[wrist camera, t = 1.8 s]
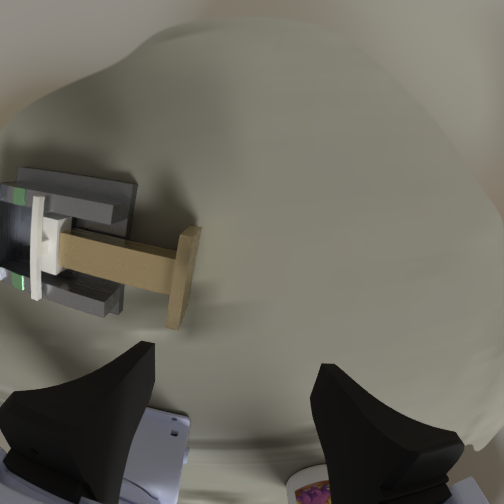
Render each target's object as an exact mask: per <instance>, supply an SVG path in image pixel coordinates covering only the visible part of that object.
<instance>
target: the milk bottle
mask: <svg viewBox="0 0 504 504" xmlns="http://www.w3.org/2000/svg"><path fill="white" fill-rule="evenodd" d="M286 490H287V497H288V504H331V495H330V486H329V478H328V472H327V465H326V464H322V465H316V466H312V467H308V468H305V469H303V470H301V471H298V472H297V473H295V474H294V475H292V476H291V477H290V478H289V480H288V482H287V484H286Z"/></svg>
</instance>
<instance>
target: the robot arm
mask: <svg viewBox="0 0 504 504" xmlns="http://www.w3.org/2000/svg"><path fill="white" fill-rule="evenodd" d="M154 382H155V343H150V342H145V341H140V342H139V343H137V344H136V345H134V346H133V347H132V348H130V349H129V350H128V351H126V352H125V353H123V354H122V355H120V356H119V357H117V358H116V359H114V360H113V361H111V362H110V363H108V364H106V365H105V366H103V367H101V368H100V369H98V370H96V371H94V372H92V373H90V374H88V375H85V376H83V377H81V378H78V379H76V380H73V381H70V382H67V383H63V384H60V385H57V386H52V387H48V388H42V389H36V390H26V391H14V392H13V393H12V394H11V395H10V396H9V397H8V399H7V400H6V401H5V402H4V403H3V405H2V406H1V407H0V429H1V431H2V433H3V435H4V437H5V438H6V440H7V442H8V444H9V446H10V447H11V449H10V451H9V452H8V454H7V453H6V452H5V451H4V450H3V449H2V448H1V447H0V504H177V501H178V495H179V488H180V482H181V475H182V469H183V463H185V464H187V460H188V453H189V448H187V447H186V444H187V438H188V431H189V425H190V419H189V418H188V417H186V416H182V415H178V414H173V413H169V412H165V411H161V410H157V409H153V408H149V407H147V405H148V402H149V400H150V397H151V393H152V390H153V386H154ZM310 403H311V410H312V416H313V420H314V423H315V426H316V430H317V433H318V436H319V439H320V443H321V446H322V449H323V452H324V456H325V460H326V465H327V472H328V478H329V486H330V495H331V504H489V502H488V501H487V499H486V498H485V496H484V494H483V493H482V491H481V490H480V488H479V487H478V485H477V483H476V482H475V480H474V479H473V477H469V478H466V479H464V480H462V481H460V482H457V483H455V484H453V485H452V486H450V487H449V488H448V487H447V485H446V483H447V482H448V481H449V478H448V476H447V475H446V474H447V472H448V471H449V470H450V469H451V468H452V467H453V465H454V464H455V463H456V462H457V461H458V459H459V458H460V456H461V455H462V453H463V451H464V446H465V445H464V443H463V442H462V441H461V439H460V438H459V436H458V435H457V433H456V432H453V431H449V430H444V429H440V428H436V427H433V426H430V425H427V424H424V423H421V422H418V421H416V420H413V419H411V418H409V417H407V416H405V415H403V414H401V413H399V412H397V411H395V410H393V409H392V408H390V407H388V406H387V405H385V404H384V403H382V402H381V401H379V400H378V399H376V398H375V397H374V396H372V395H371V394H370V393H368V392H367V391H366V390H365V389H363V388H362V387H361V386H360V385H359V384H357V383H356V382H355V381H354V380H353V379H352V378H351V377H349V376H348V375H347V374H346V373H345V372H344V371H343V370H341V369H340V368H339V367H338V366H336V365H335V364H324V363H322V364H321V367H320V370H319V373H318V376H317V379H316V382H315V384H314V387H313V390H312V393H311V396H310ZM174 418H176V419H174Z"/></svg>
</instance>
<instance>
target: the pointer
mask: <svg viewBox="0 0 504 504" xmlns="http://www.w3.org/2000/svg"><path fill="white" fill-rule="evenodd" d="M44 200H45V197H44V196H39V195H38V196H33V206H32V219H31V238H30V279H31V299H34V300H37V301H38V300H39V299H41V298H42V291H41V271H44V272H47V273H50V274H53V275H57V274H59V273H60V272H62V271H64V270H65V269H67V268H65V267H61V266H59V248H60V232H63V231H66V230H69V229H71V224H72V216H67V215H63V214H58V213H54V212H50V213H46V214H43V210H44Z"/></svg>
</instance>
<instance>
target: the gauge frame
mask: <svg viewBox="0 0 504 504" xmlns="http://www.w3.org/2000/svg"><path fill="white" fill-rule="evenodd" d="M137 187H138V184H133V183H128V182H122V181H116V180H110V179H104V178H98V177H92V176H85V175H79V174H72V173H66V172H59V171H52V170H44V169H37V168H29V167H18V171H17V179H16V181H13V182H2V183H0V281H2V282H5V283H7V284H9V285H12V286H13V287H15V288H17V289H20V290H22V291H23V290H24V291H27V292H29V293H31V279H30V238H31V219H32V206H33V196H38V195H39V196H44V197H45V200H44V210H43V214H46V213H50V212H54V213H58V214H63V215H67V216H72V224H71V229H72V228H78V229H82V230H86V231H91V232H95V233H99V234H104V235H108V236H112V237H117V238H121V239H126V240H129V238H130V231H131V224H132V217H133V211H134V204H135V199H136V193H137ZM124 285H125V284H122V283H118V282H114V281H111V280H107V279H103V278H100V277H96V276H92V275H89V274H85V273H82V272H78V271H75V270H72V269H68V268H67V269H65V270H64V271H62V272H60V273H59V274H57V275H53V274H50V273H47V272H44V271H41V291H42V297H43V298H45V299H48V300H51V301H53V302H56V303H59V304H62V305H65V306H68V307H71V308H74V309H77V310H80V311H83V312H86V313H89V314H92V315H95V316H99V317H102V318H104V317H105V316H106V315H107V314H108V313H113V314H116V315H119V314H120V313H121V311H122V310H123V298H124Z"/></svg>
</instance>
